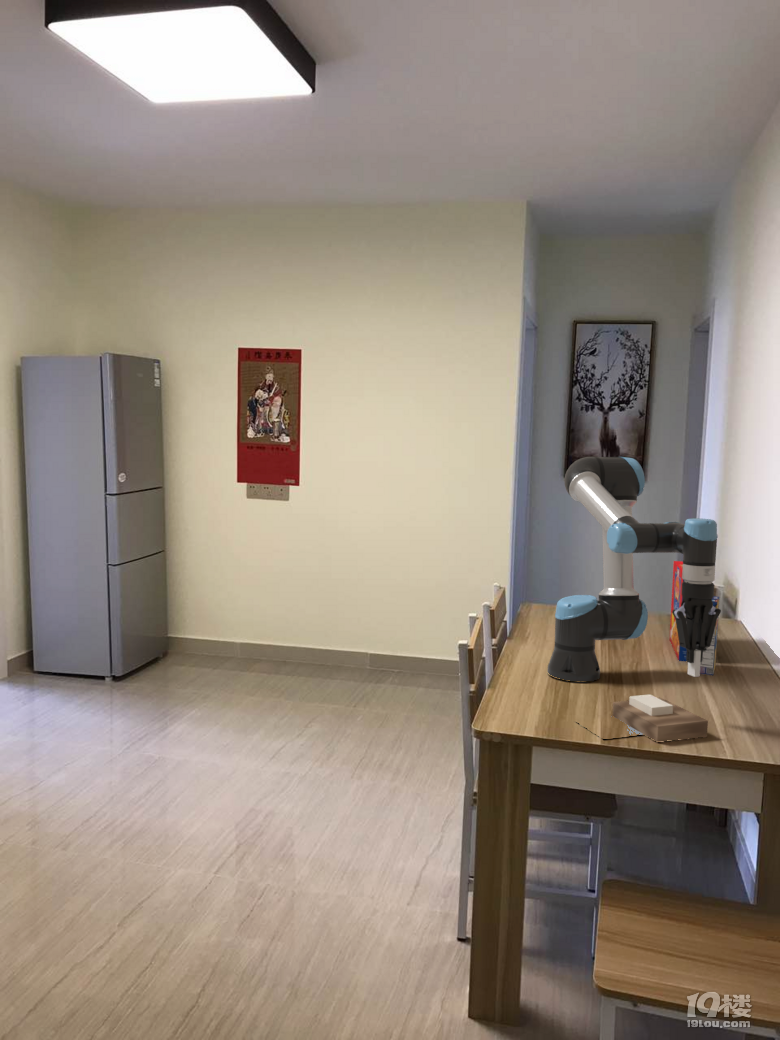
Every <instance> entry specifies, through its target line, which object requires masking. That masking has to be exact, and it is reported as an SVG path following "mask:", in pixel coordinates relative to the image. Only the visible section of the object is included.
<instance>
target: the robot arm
mask: <svg viewBox="0 0 780 1040" xmlns="http://www.w3.org/2000/svg"><path fill="white" fill-rule="evenodd" d="M645 480H646V477H645V473H644V470H643V468H642V466H641V464H640V463H639V461H638V460H637V459H635V458H632V457H624V456H585V457H581V458H579V459H577V460H575V461H574V462H572V464H570V465H569V467H568V469H567V470H566V472H565V474H564V480H563V481H564V488H565V490H566V492H567V493H568V495H569V496H570V497H571V499H573V500H574V501H575V502H577V503H581V504H582V505H583V506H584V508H585V509H586V510H587V511H588V512H589V513H590V515H592V517H593V518H594V519H595V520H596V521H597V523H599V524H600V525H601V527H602V528H601V529H602V565H603V568H602V570H603V571H602V572H603V573H602V574H603V589H602V590H600V591H599V592H598V599H597V597H596V596H594V595H589V594H576V595H575V594H574V595H568V596H565V597H563V598H560V599H559V600H558V601H557V603H556V608H555V614H554V618H555V621H554V623H555V624H554V626H555V627H554V629H555V630H554V649H553V651H552V654H551V657H550V659H549V662H548V665H547V672H548V673H549V674H550V675H552V676H554V677H557V678H560V679H564V680H570V681H592V682H595V681H594V680H596V681H598V680H600V678H601V669H600V668H601V667H600V664H599V662H598V658H597V654H596V641H609V640H611V641H613V640H624V641H626V640H632V639H638V638H639V637H640V636H641V635H642V634H643V633H644V632H645V630H646V628H647V626H648V625H647V624H648V620H649V619H648V618H649V611H648V608H647V605H646V602H645V601H643V600H642V599H640V593H638V591H637V590H636V589H635V588H634V555H633V554H644V553H645V554H649V553H651V554H653V553H655V554H656V553H659V554H660V553H663V554H664V553H665V554H667V553H673V554H674V553H676V554H681V555H682V561H683V570H682V579H683V580H685V581H683V582H682V592H681V594H682V597H683V601H682V603H681V607H680V608H679V609H677V610H673V611H672V613H673V615H674V617H675V619H676V625H677V632H678V638H679V644H680V646H681V647H684V648H686V650H687V652H686V661H687V662H686V661H685V662H686V663H687V675H689V676H691V677H694V678H697V677H700V675H701V674H700V662H702V658H703V651H705V650H706V649H707V648H706V647H710V645H711V641H712V637H713V633H714V629H715V625H716V621H717V618H718V619H719V616H720V614H721V612H722V610H721V608H719V609H717V608H715V607H714V606H713V602H712V598H713V597H714V596H715V584H714V581H715V580H716V579H715V578H716V576H715V575H716V561H717V560H716V559H717V549H718V548H717V544H718V537H719V535H718V523H717V521H716V520H714V519H711V518H710V519H709V518H698V517H697V518H695V517H694V518H687V519H686V520H685V523H681V522H678V521H666V522H662V523H657V522H655V523H653V522H651V523H650V522H649V523H647V522H646V523H644V522H642V523H640V522H639V521H638V520H637V519H635V517H633V509H632V508H633V507H634V505H636V503H637V502H638V497H639V496H641V495H642V494H643V492H644V488H645V485H646V481H645ZM685 616H686V618H685ZM686 622H687V624H686ZM548 673H547V674H548ZM597 679H598V680H597Z"/></svg>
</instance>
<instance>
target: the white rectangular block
mask: <svg viewBox="0 0 780 1040" xmlns="http://www.w3.org/2000/svg"><path fill="white" fill-rule="evenodd" d="M658 698H659V697H656V696H654V695H653V694H650V693H649V694H642V695H640V694H639V695H631V696H629V698H628V699H629V700H628V701H629V704H630V705H632V706H634V707H635V708H637V709H639V710H641V711H643V712H645V713H647V714H649V715H651V716H656V715H665V714H673V705H671V704H669V703H667V702H664V701H662V700H660V699H658Z"/></svg>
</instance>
